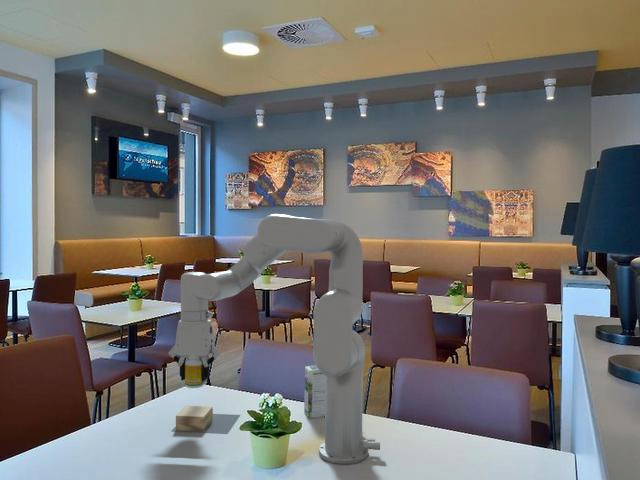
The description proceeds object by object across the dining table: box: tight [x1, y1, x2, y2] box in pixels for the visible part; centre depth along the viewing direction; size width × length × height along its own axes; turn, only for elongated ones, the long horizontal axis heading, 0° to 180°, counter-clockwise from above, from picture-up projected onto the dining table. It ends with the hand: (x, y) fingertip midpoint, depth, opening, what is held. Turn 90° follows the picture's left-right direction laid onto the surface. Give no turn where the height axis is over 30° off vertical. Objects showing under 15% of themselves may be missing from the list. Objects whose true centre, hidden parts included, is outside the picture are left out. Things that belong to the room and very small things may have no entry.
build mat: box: [171, 413, 241, 435], centre depth 146 cm, size 16×14×1 cm
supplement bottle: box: [184, 356, 205, 389], centre depth 144 cm, size 5×5×10 cm
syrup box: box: [303, 365, 326, 419], centre depth 156 cm, size 6×6×14 cm
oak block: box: [175, 405, 214, 431], centre depth 144 cm, size 8×8×4 cm
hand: (194, 378), depth 144 cm, fingers closed on supplement bottle, 5 cm apart
